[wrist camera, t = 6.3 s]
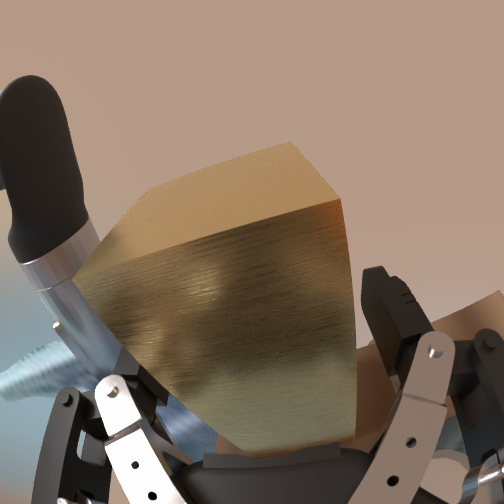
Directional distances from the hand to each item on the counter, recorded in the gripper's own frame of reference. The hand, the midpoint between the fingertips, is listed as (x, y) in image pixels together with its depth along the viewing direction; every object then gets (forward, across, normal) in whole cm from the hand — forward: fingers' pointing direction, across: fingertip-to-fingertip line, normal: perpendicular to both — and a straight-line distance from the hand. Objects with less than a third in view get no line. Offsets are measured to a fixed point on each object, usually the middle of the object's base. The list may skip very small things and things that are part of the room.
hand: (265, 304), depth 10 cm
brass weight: (-2, +1, -6) cm, 7 cm away
